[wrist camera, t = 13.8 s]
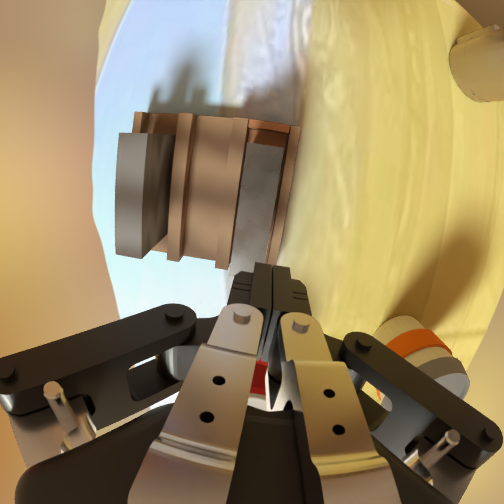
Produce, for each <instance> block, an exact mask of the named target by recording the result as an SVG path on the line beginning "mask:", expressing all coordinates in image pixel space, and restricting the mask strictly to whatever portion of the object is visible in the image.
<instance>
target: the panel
mask: <svg viewBox="0 0 504 504" xmlns="http://www.w3.org/2000/svg"><path fill="white" fill-rule="evenodd" d="M283 151H284V148H281V147H275V146H269V145H263V144H256V143H249V142H247V148H246V155H245V162H244V168H243V175H242V183H241V190H240V197H239V204H238V211H237V219H236V226H235V234H234V242H233V249H232V257H231V265H230V273H229V276H235V275H236V274H237V273H239V272H240V271H245V272H251V273H253V270H254V265H255V262H259V263H265V258H266V252H267V246H268V240H269V235H270V229H271V223H272V217H273V211H274V206H275V200H276V194H277V188H278V182H279V176H280V170H281V164H282V158H283Z"/></svg>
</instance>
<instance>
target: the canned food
mask: <svg viewBox="0 0 504 504" xmlns="http://www.w3.org/2000/svg"><path fill="white" fill-rule="evenodd" d="M261 352H262V351H261ZM267 368H268V362H265V361H261V355H260V359H259V361H257V360H256V363H255V369H254V374H253V379H252V384H251V389H250V393H249V398H248V403H247V405H249V406H252V407H255V408H258V409H261V410H264V411H267V404H266V387H265V375H266V372H267Z"/></svg>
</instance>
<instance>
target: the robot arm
mask: <svg viewBox="0 0 504 504" xmlns="http://www.w3.org/2000/svg"><path fill="white" fill-rule="evenodd" d="M449 63H450V68H451V71H452V74H453V77H454V79H455V81H456V83H457V84H458V86H459V87H460V89H461V90H462V91H463V92H464V93H465V94H466V95H467V96H468V97H469V98H471V99H472V100H474V101H477V102H490V101H504V27H503V28H500V27H499V26H498V25H496V24H493V25H490V26H487V27H485V28H482V29H479V30H477V31H474V32H472V33H469V34H467V35H465V36H462V37H460V38H458V39H457V43H456V45H455V46H454V47H452V49H451V51H450V55H449ZM261 351H262V352H261ZM260 355H261V361H265V362H268V368H267V372H266V375H265V387H266V404H267V411H264V410H261V409H258V408H255V407H252V406H249V405H247V403H248V398H249V393H250V389H251V384H252V379H253V374H254V369H255V363H256V360H257V361H259V359H260ZM153 356H155V357H156V359H153V360H151V361H149V362H146V363H144V364H142V365H139V366H137V367H135V368H132V369H130V370H129V368H130V367H131V366H133V365H134V364H136V363H139V362H141V361H143V360H146V359H148V358H150V357H153ZM366 381H368V382H369V383H370V384H371V385H373V386H374V387H375V388H377V389H378V390H379V391H380V392H382V393H383V394H384V395H386V396H387V397H388V398H389V399H390V400H391V402H392V410H391V412H390V411H387V410H386V409H384V408H383V407H382V406H381V405H379V404H378V403H377V402H376V401H374V400H373V399H372V398H371V397H369V396H368V395H367V394H366V393H364V392H363V391H362V390H361V389H362V387H363V386H364V384H365V382H366ZM178 391H179V394H178V396H177V398H176V400H175V403H171V404H167V405H163V406H160V407H157V408H155V409H152V410H150V411H148V412H146V413H144V414H143V415H141V416H139V417H137V418H135V419H133V420H131V421H129V422H128V423H125V424H123V425H122V426H120V427H118V428H116V429H114V430H112V431H110V432H107V433H105V434H103V435H101V436H99V437H97V438H95V436H96V431H97V430H100V429H102V428H104V427H106V426H109V425H111V424H113V423H116V422H118V421H120V420H122V419H124V418H126V417H128V416H130V415H133V414H135V413H137V412H139V411H141V410H143V409H145V408H147V407H149V406H151V405H153V404H155V403H157V402H159V401H161V400H163V399H165V398H167V397H169V396H171V395H173V394H175V393H177V392H178ZM0 404H1V407H2V408H3V410H4V411H5V413H6V414H7V415H8V417H9V419H10V423H11V426H12V429H13V432H14V435H15V438H16V441H17V444H18V446H19V449H20V452H21V454H22V457H23V459H24V462H25V464H26V467H27V470H26V471H25V472H24V474H23V475H22V476H21V478H20V479H19V481H18V484H17V486H16V490H15V504H458V503H459V501H460V499H461V498H462V496H463V494H464V492H465V490H466V489H467V486H468V485H469V483H470V481H471V479H472V477H473V475H474V473H475V471H476V469H478V468H479V467H480V466H481V465H482V464H484V463H485V462H486V461H487V460H488V459H489V458H490V457H491V456H493V455H494V454H495V453H496V452H497V451H498V450H499V449H500V448H501V446H502V443H503V436H502V432H501V430H500V428H499V427H498V426H497V425H496V424H495V423H494V422H493V421H491V420H490V419H489V418H487V417H486V416H484V415H483V414H482V413H480V412H479V411H477V410H476V409H475V408H473V407H472V406H470V405H469V404H467V403H466V402H464V401H463V400H462V399H460V398H459V397H458V396H456V395H455V394H453V393H452V392H450V391H449V390H448V389H446V388H445V387H443V386H442V385H441V384H439V383H438V382H436V381H435V380H434V379H432V378H431V377H429V376H428V375H426V374H425V373H424V372H422V371H421V370H419V369H418V368H417V367H415V366H414V365H412V364H411V363H409V362H408V361H407V360H405V359H404V358H402V357H401V356H400V355H398V354H397V353H395V352H394V351H392V350H391V349H390V348H388V347H387V346H385V345H384V344H383V343H381V342H380V341H378V340H377V339H375V338H374V337H372V336H371V335H369V334H366V333H362V332H351V333H348V334H347V335H346V336H345V337H344V340H343V341H342V340H339V339H336V338H333V337H330V336H328V335H326V334H324V333H323V331H322V328H321V325H320V323H319V322H318V321H317V320H316V319H315V318H313V317H312V315H311V310H310V305H309V301H308V295H307V290H306V287H305V286H304V284H303V283H302V282H301V281H300V280H294V279H291V274H290V268H289V267H283V266H277V265H273V266H272V265H271V264H265V263H259V262H255V265H254V270H253V273H251V272H245V271H240V272H239V273H237V274H236V275H235V276H234V280H233V284H232V288H231V291H230V295H229V299H228V302H227V306H225V307H224V308H223V309H222V310H221V312H220V315H218V316H216V317H212V318H197V317H196V313H195V312H194V311H193V310H192V309H191V308H189V307H187V306H185V305H181V304H165V305H161V306H158V307H156V308H153V309H150V310H147V311H144V312H141V313H138V314H135V315H132V316H129V317H126V318H123V319H120V320H118V321H115V322H111V323H109V324H106V325H102V326H99V327H96V328H93V329H91V330H87V331H84V332H81V333H79V334H75V335H72V336H69V337H66V338H63V339H60V340H57V341H54V342H50V343H47V344H44V345H41V346H38V347H34V348H31V349H28V350H25V351H21V352H18V353H15V354H12V355H9V356H5V357H2V358H0Z"/></svg>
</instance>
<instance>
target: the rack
mask: <svg viewBox="0 0 504 504" xmlns="http://www.w3.org/2000/svg"><path fill="white" fill-rule="evenodd" d="M300 129H301V127H299V126H293V125H291V126H290V125H287V124H281V123H275V122H268V121H262V120H254V119H248V118H239V117H234V118H225V117H215V116H203V115H196V114H193V113H179V114H163V113H146V112H135V113H134V121H133V129H132V133H119V140H118V151H117V165H116V185H115V248H116V254H117V255H122V256H128V257H133V258H139V259H142V258H143V257H144V256H145V255H146V254H147V253H148V252H149V251H150V250H154V251H160V252H165V253H167V260H171V261H177V262H179V261H180V259H181V258H182V257H183V256H189V257H195V258H202V259H208V260H214V261H216V262H215V268H219V269H225V270H228V267H229V264H230V263H231V257H232V249H233V242H234V234H235V226H236V219H237V211H238V204H239V197H240V190H241V183H242V175H243V168H244V162H245V155H246V148H247V142H249V143H256V144H263V145H269V146H275V147H281V148H284V151H283V158H282V164H281V170H280V176H279V182H278V188H277V194H276V200H275V206H274V211H273V217H272V223H271V229H270V235H269V240H268V246H267V252H266V258H265V264H271V265H272V266H273V265H276V264H277V259H278V254H279V248H280V243H281V238H282V232H283V227H284V222H285V216H286V211H287V205H288V200H289V194H290V188H291V183H292V177H293V171H294V165H295V159H296V154H297V148H298V141H299V135H300Z"/></svg>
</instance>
